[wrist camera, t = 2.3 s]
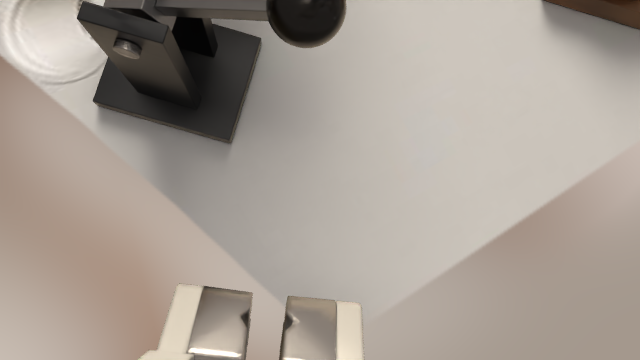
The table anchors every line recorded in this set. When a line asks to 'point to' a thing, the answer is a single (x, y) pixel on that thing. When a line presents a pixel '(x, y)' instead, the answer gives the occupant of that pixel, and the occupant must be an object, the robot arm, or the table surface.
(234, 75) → the bracket
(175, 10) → the lever
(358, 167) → the table surface
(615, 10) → the button block
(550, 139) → the table surface
